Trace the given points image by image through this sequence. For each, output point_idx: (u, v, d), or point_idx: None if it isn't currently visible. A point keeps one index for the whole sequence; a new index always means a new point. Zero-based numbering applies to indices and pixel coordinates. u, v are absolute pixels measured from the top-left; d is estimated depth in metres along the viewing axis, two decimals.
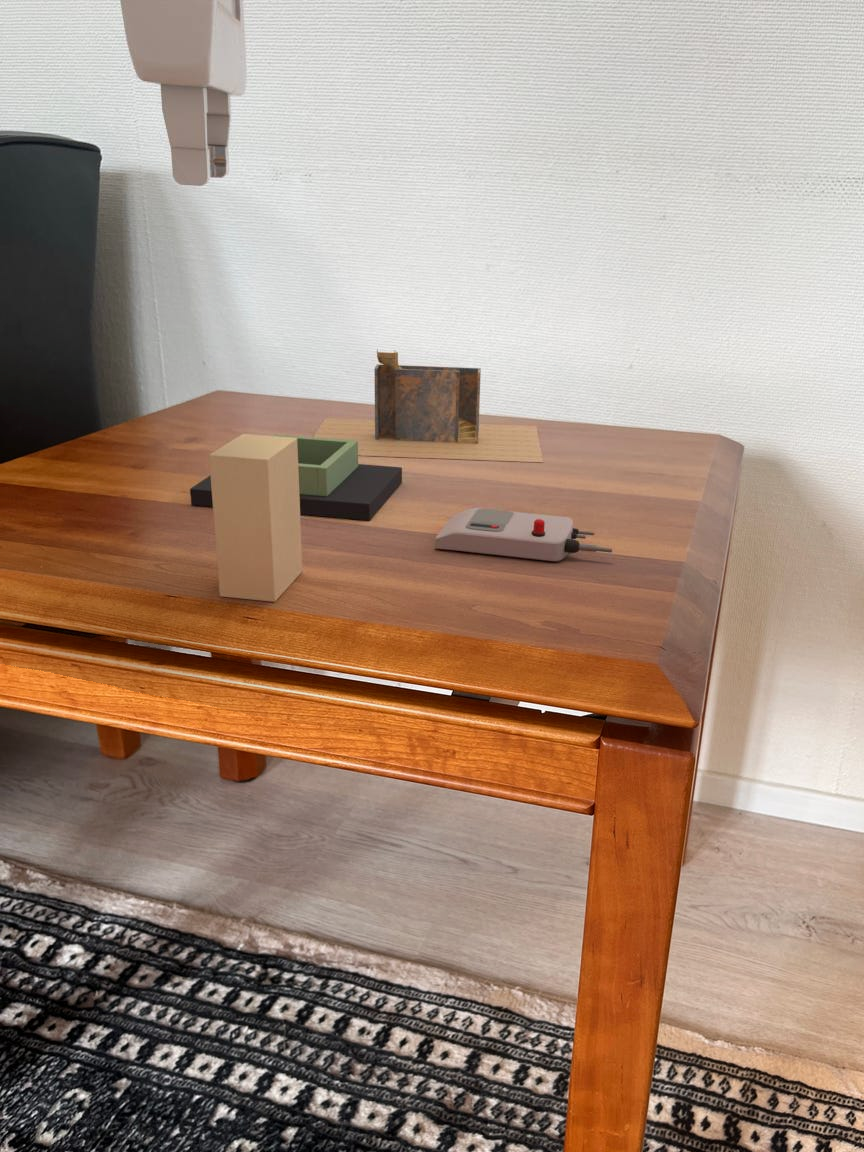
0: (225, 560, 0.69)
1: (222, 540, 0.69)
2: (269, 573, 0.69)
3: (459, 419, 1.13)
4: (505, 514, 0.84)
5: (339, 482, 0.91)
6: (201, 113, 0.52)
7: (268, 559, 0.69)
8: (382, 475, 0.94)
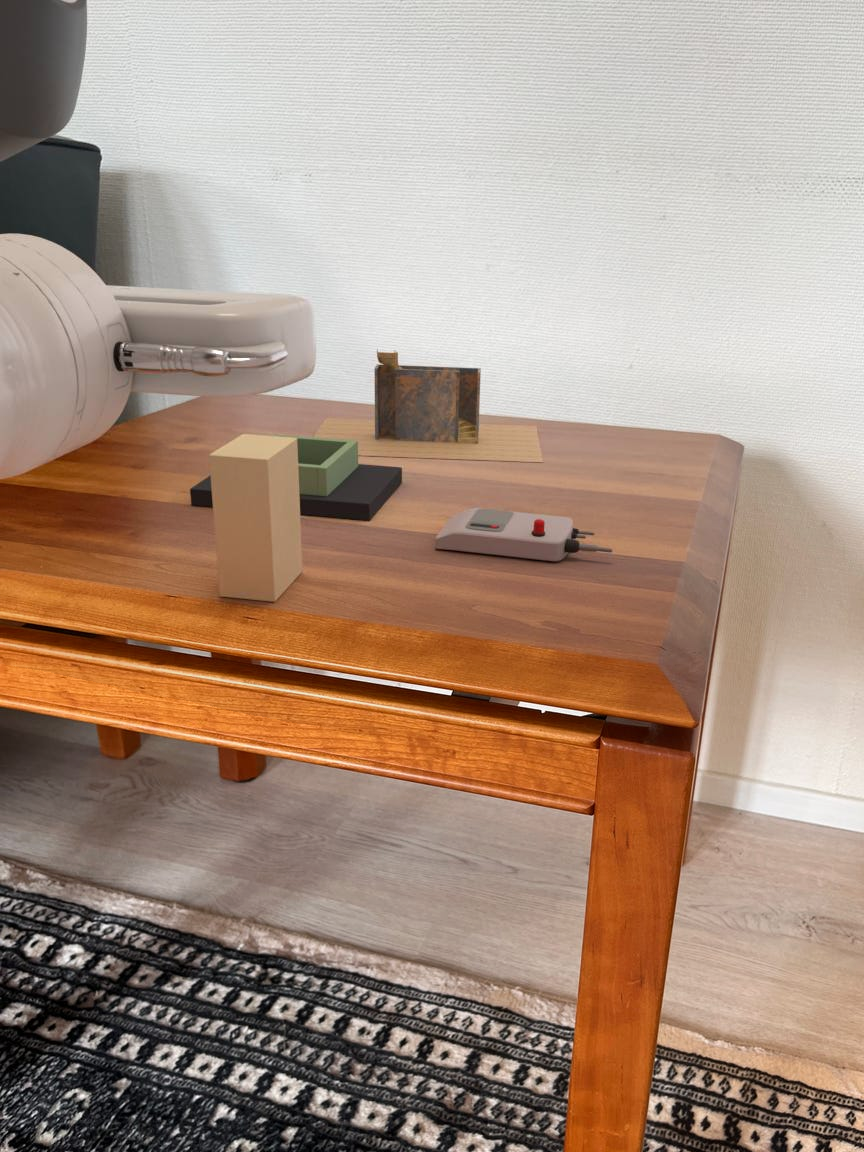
0: (225, 560, 0.69)
1: (222, 540, 0.69)
2: (269, 573, 0.69)
3: (459, 419, 1.13)
4: (505, 514, 0.84)
5: (339, 482, 0.91)
6: None
7: (268, 559, 0.69)
8: (382, 475, 0.94)
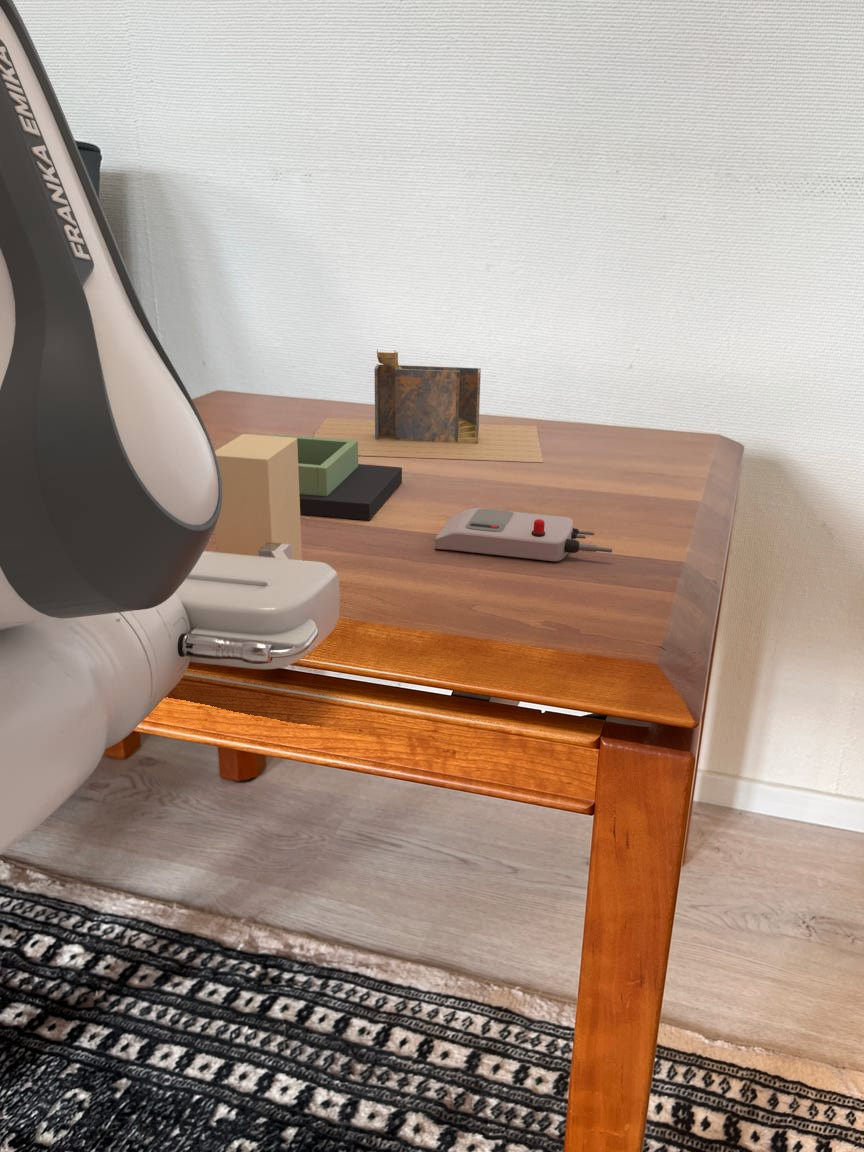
0: None
1: (222, 540, 0.69)
2: None
3: (459, 419, 1.13)
4: (505, 514, 0.84)
5: (339, 482, 0.91)
6: None
7: None
8: (382, 475, 0.94)
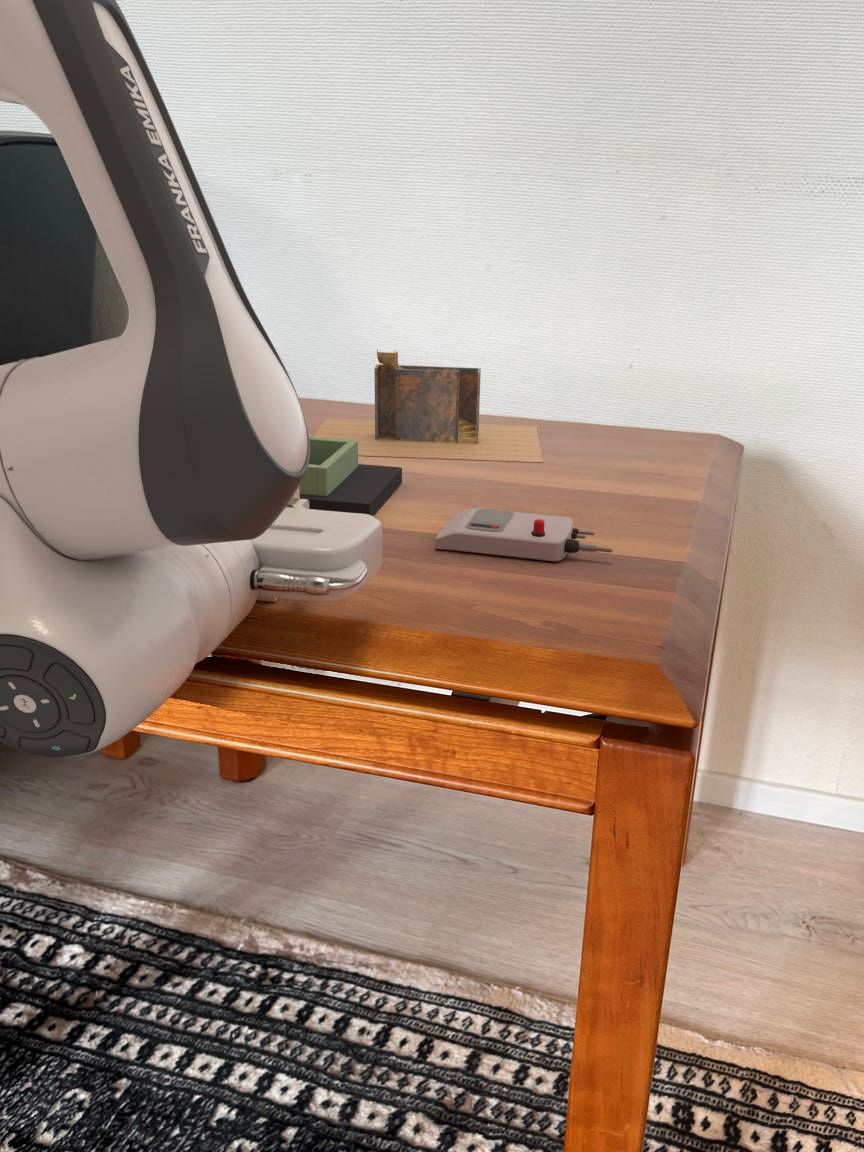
0: None
1: None
2: None
3: (459, 419, 1.13)
4: (505, 514, 0.84)
5: (339, 482, 0.91)
6: None
7: None
8: (382, 475, 0.94)
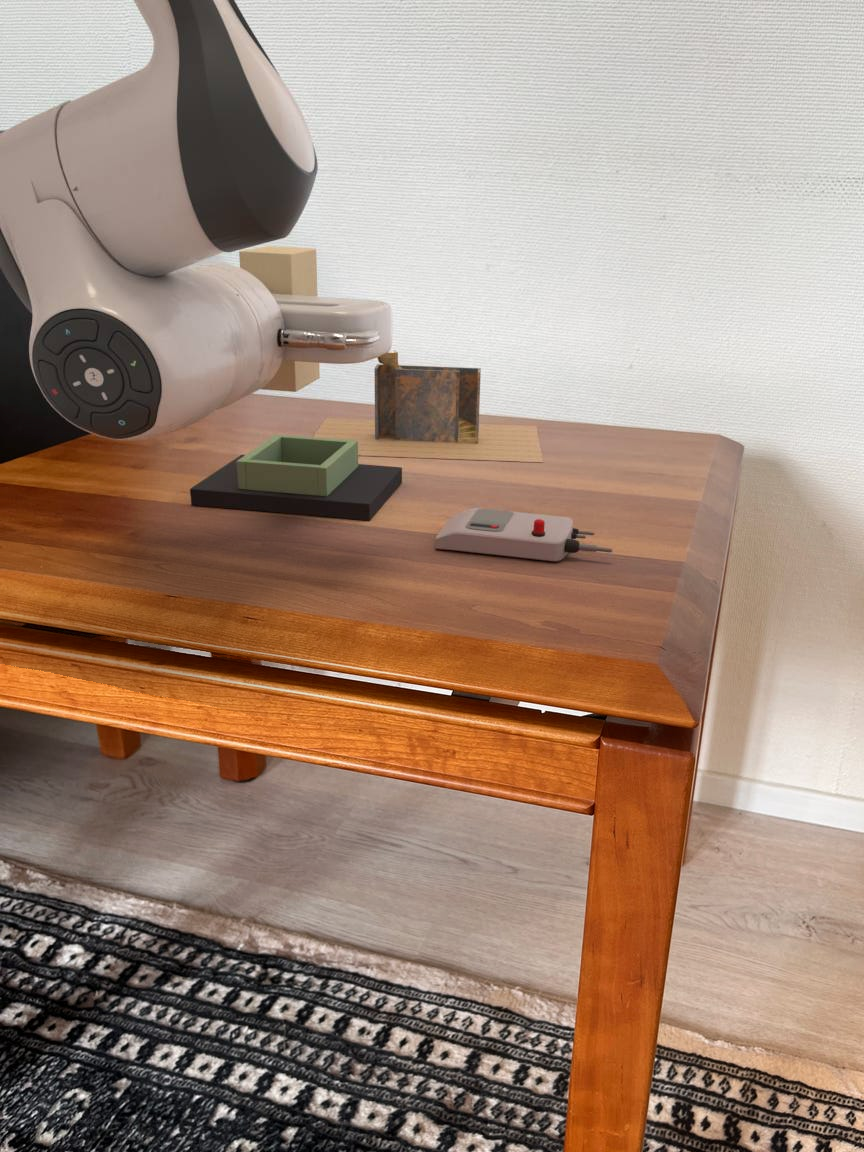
0: None
1: None
2: (291, 364, 0.78)
3: (459, 419, 1.13)
4: (505, 513, 0.84)
5: (339, 482, 0.91)
6: None
7: None
8: (382, 475, 0.94)
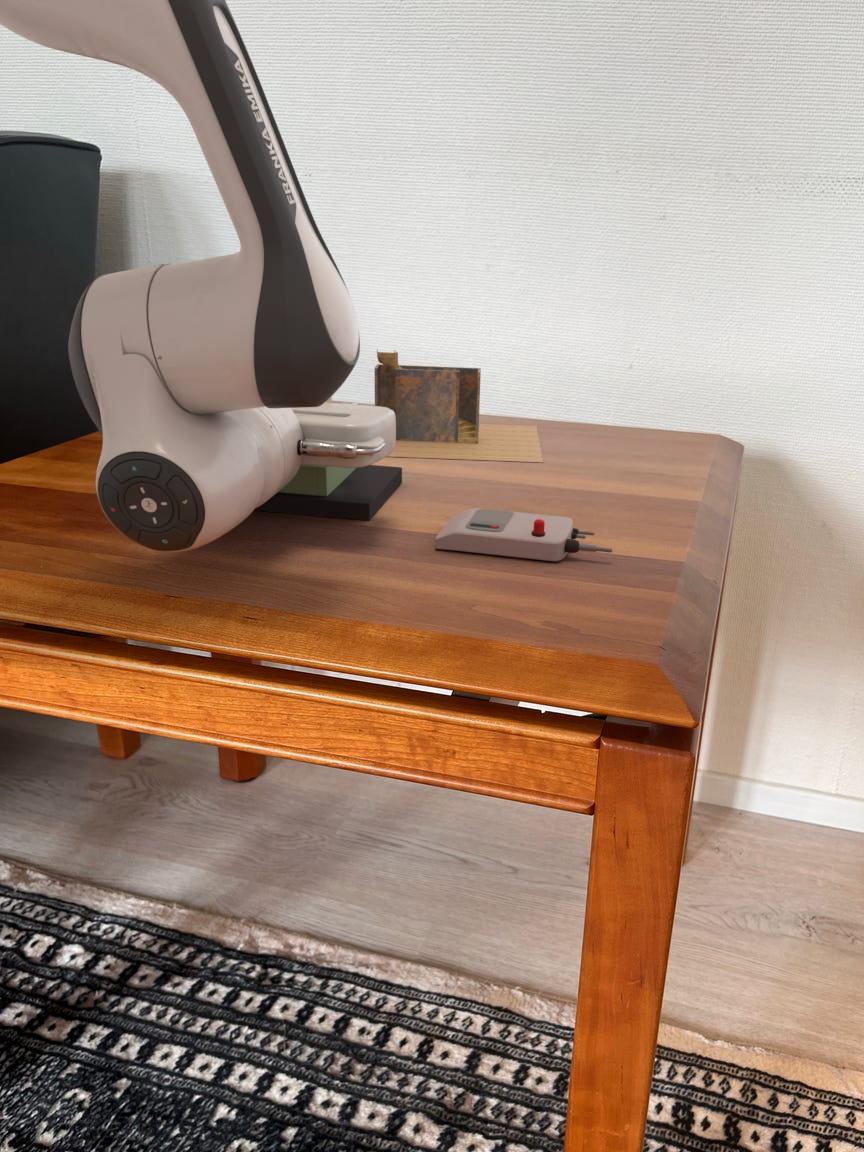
0: None
1: None
2: None
3: (459, 419, 1.13)
4: (505, 514, 0.84)
5: (339, 482, 0.91)
6: None
7: None
8: (382, 475, 0.94)
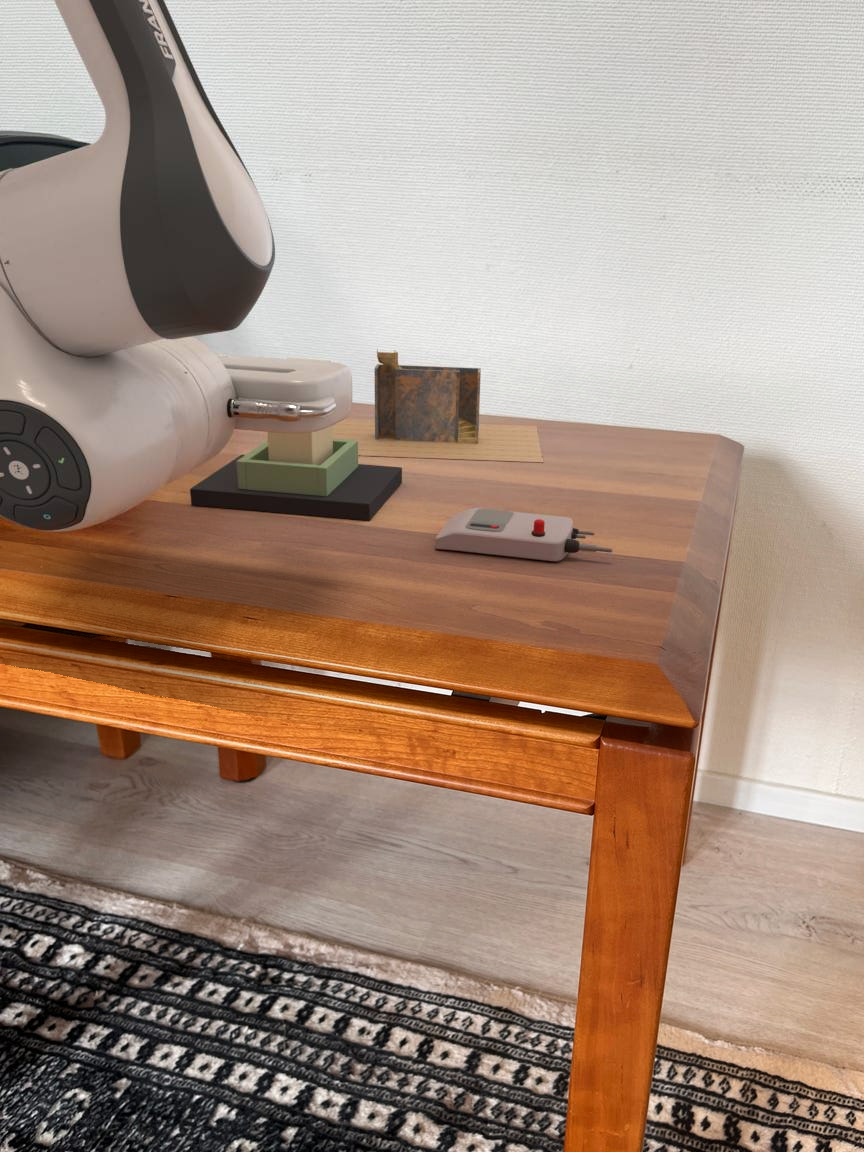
0: (275, 455, 0.89)
1: (273, 438, 0.88)
2: None
3: (459, 419, 1.13)
4: (505, 513, 0.84)
5: (339, 482, 0.91)
6: None
7: (309, 453, 0.88)
8: (382, 475, 0.94)
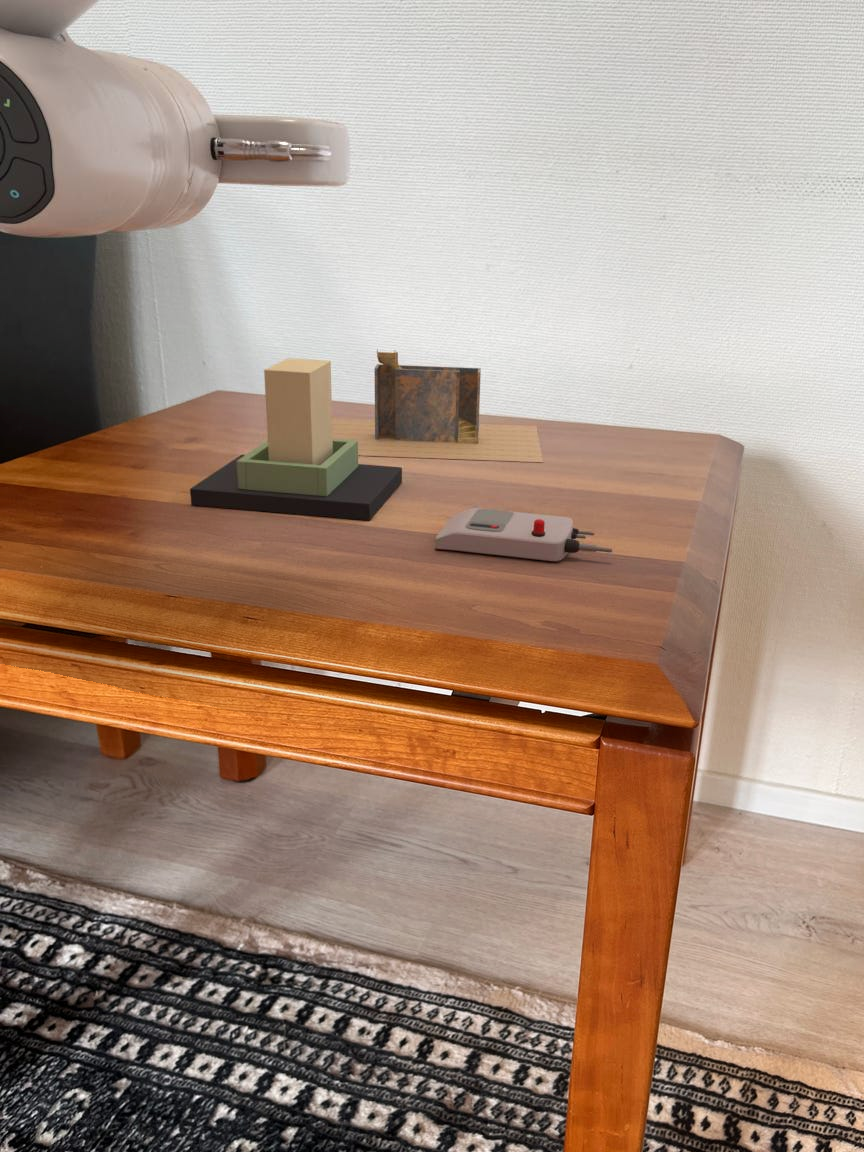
0: (275, 455, 0.89)
1: (273, 438, 0.88)
2: None
3: (459, 419, 1.13)
4: (505, 513, 0.84)
5: (339, 482, 0.91)
6: None
7: (309, 453, 0.88)
8: (382, 475, 0.94)
